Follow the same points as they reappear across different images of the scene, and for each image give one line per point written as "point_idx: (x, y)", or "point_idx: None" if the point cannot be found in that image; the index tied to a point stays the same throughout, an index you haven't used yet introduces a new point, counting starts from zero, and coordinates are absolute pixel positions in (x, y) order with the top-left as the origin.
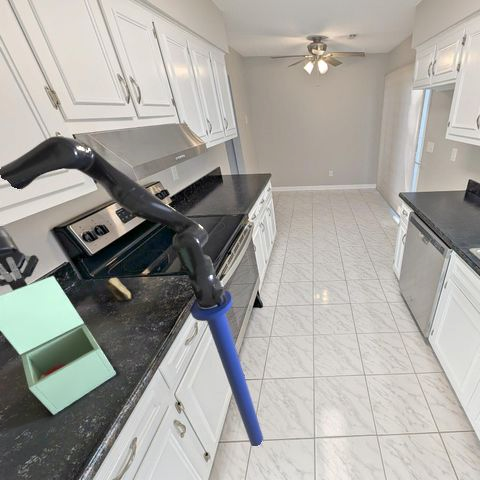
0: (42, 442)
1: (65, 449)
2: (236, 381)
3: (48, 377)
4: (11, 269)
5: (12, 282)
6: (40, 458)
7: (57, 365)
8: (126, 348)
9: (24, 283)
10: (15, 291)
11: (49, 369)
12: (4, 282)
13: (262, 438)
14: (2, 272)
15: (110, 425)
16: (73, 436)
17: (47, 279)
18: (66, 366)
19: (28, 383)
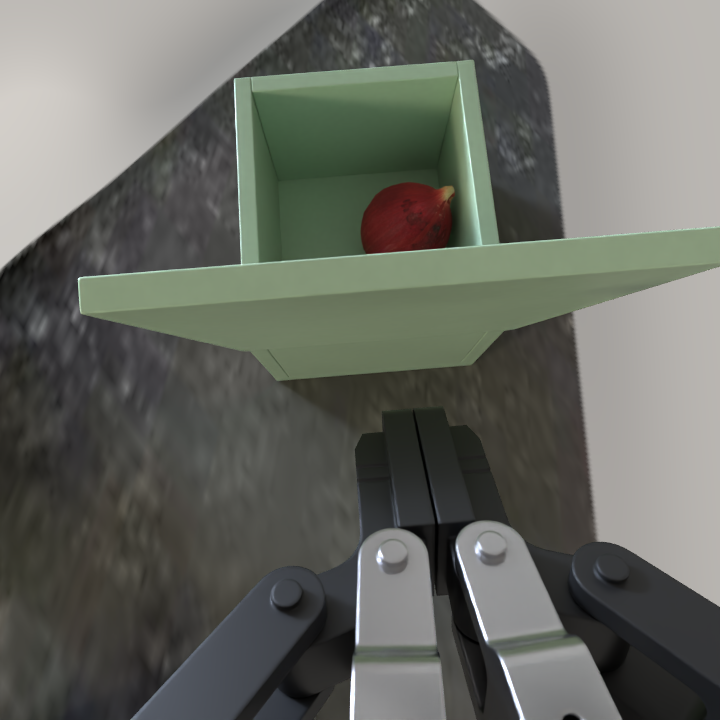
0: None
1: (426, 22)
2: None
3: (414, 66)
4: (437, 696)
5: (468, 506)
6: (478, 45)
7: (398, 227)
8: None
9: (370, 484)
10: (438, 252)
11: (425, 226)
12: (552, 559)
13: None
14: (570, 681)
15: (326, 3)
16: (407, 45)
17: (147, 272)
18: (354, 73)
19: (475, 90)
